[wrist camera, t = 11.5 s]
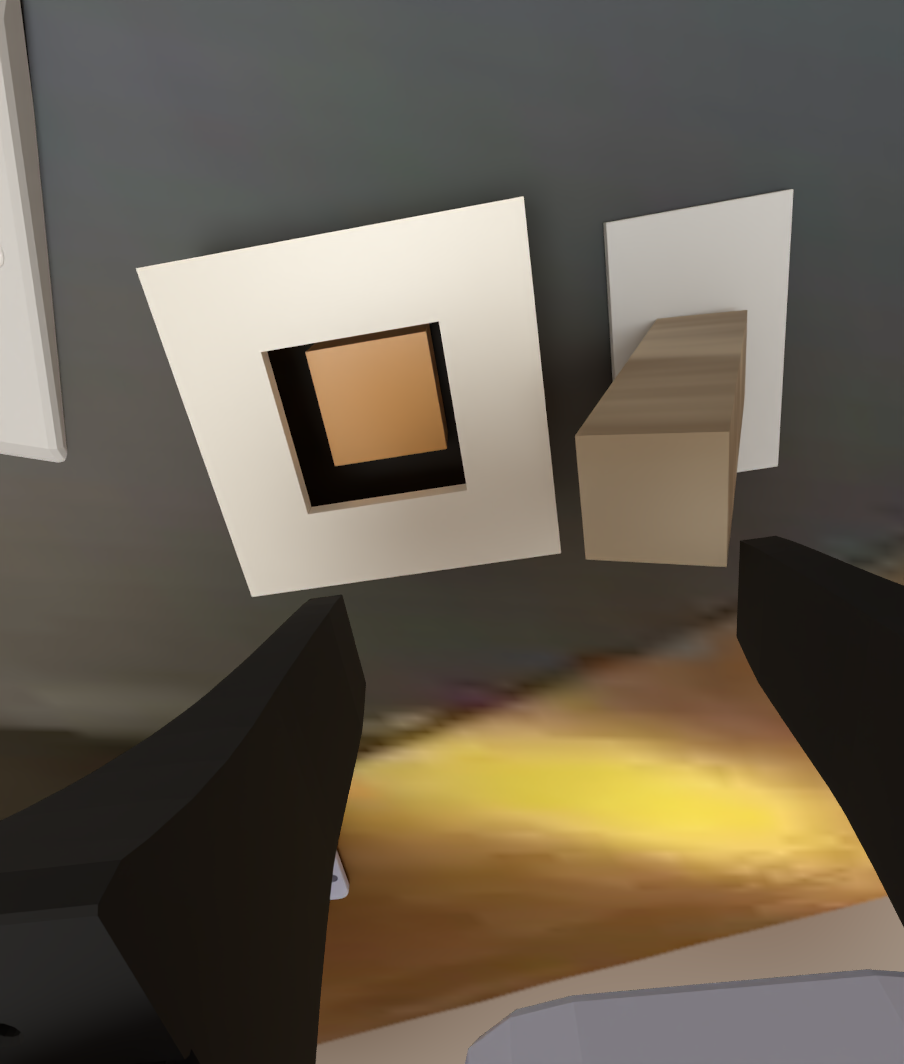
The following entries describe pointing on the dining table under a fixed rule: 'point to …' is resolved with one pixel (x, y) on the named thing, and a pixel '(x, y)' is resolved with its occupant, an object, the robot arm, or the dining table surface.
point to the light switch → (24, 268)
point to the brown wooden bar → (667, 446)
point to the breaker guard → (349, 310)
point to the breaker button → (379, 394)
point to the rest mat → (710, 292)
